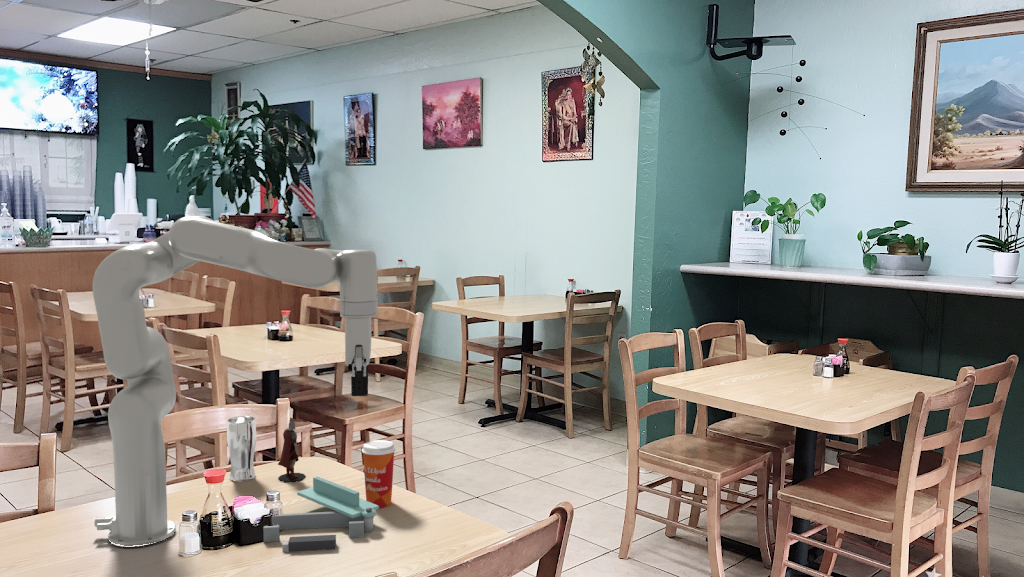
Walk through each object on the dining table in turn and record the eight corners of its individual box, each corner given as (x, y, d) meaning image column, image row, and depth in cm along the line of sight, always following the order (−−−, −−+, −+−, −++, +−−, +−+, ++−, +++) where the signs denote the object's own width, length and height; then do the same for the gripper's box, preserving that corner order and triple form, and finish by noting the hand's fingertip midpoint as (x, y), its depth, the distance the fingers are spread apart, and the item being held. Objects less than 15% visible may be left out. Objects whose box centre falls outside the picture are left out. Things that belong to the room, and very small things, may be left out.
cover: (297, 494, 177) (296, 478, 177) (323, 486, 182) (322, 471, 182) (360, 521, 162) (360, 504, 162) (386, 511, 168) (386, 495, 167)
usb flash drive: (282, 552, 155) (282, 542, 155) (283, 546, 158) (283, 537, 157) (335, 549, 157) (335, 539, 156) (335, 544, 159) (335, 534, 159)
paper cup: (355, 505, 180) (354, 446, 178) (375, 495, 187) (375, 437, 185) (382, 512, 176) (382, 451, 175) (402, 501, 183) (402, 442, 182)
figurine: (310, 478, 198) (309, 420, 196) (283, 485, 193) (282, 425, 191) (297, 471, 202) (296, 414, 201) (271, 478, 197) (270, 419, 196)
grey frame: (263, 542, 159) (263, 526, 159) (268, 528, 166) (268, 513, 166) (373, 536, 163) (373, 521, 163) (373, 523, 170) (373, 508, 170)
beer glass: (222, 478, 197) (220, 420, 195) (245, 471, 202) (244, 414, 201) (239, 484, 193) (238, 424, 191) (262, 476, 198) (261, 418, 197)
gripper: (341, 304, 171) (343, 382, 172) (338, 315, 154) (339, 400, 155) (376, 304, 172) (377, 380, 174) (377, 314, 155) (378, 399, 157)
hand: (359, 390), depth 164 cm, fingers open, 9 cm apart
